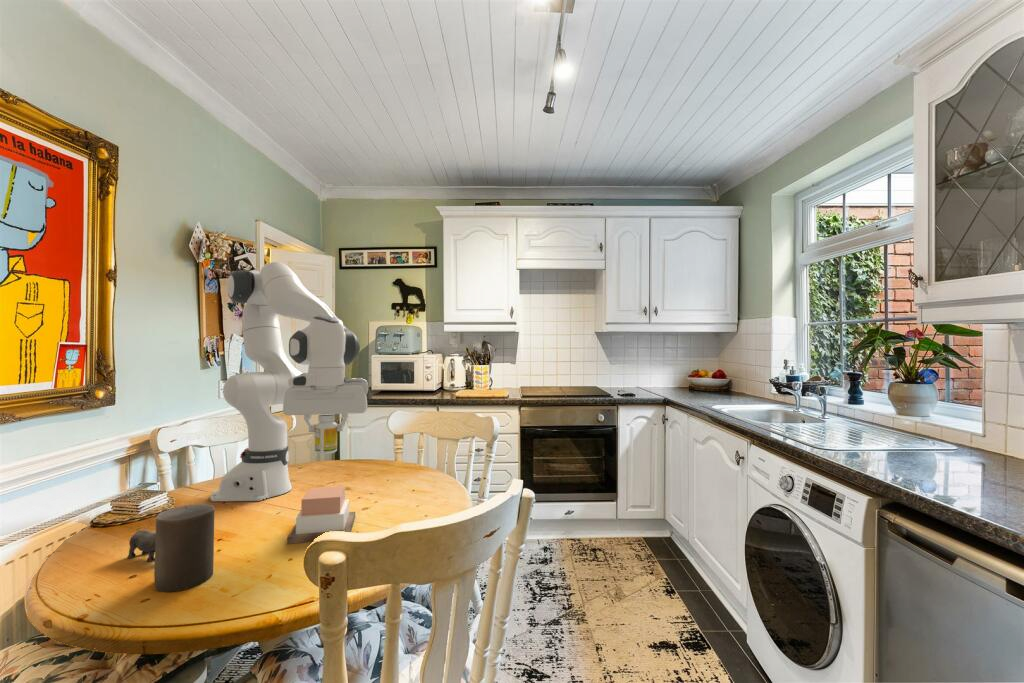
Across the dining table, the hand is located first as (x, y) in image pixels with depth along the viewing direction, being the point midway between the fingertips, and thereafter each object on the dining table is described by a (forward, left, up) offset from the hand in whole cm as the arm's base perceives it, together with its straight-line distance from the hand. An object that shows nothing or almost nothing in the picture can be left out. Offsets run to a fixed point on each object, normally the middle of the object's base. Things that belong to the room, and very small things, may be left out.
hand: (326, 431), depth 116 cm
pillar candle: (-23, -21, -25) cm, 40 cm away
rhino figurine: (-34, -9, -26) cm, 43 cm away
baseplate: (0, -1, -25) cm, 25 cm away
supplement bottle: (0, 0, -6) cm, 6 cm away
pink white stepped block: (0, 0, -24) cm, 24 cm away
